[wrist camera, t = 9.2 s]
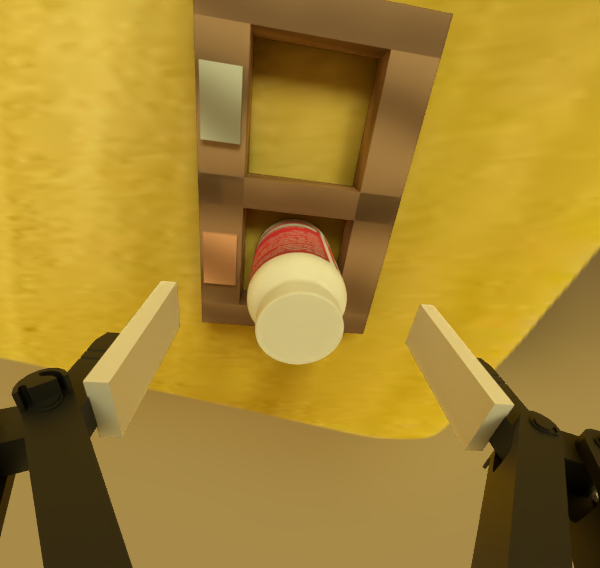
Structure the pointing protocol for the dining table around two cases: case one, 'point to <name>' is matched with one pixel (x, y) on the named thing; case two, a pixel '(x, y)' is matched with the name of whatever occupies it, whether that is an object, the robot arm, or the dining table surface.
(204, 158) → the socket board
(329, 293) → the pill bottle
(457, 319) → the dining table surface
